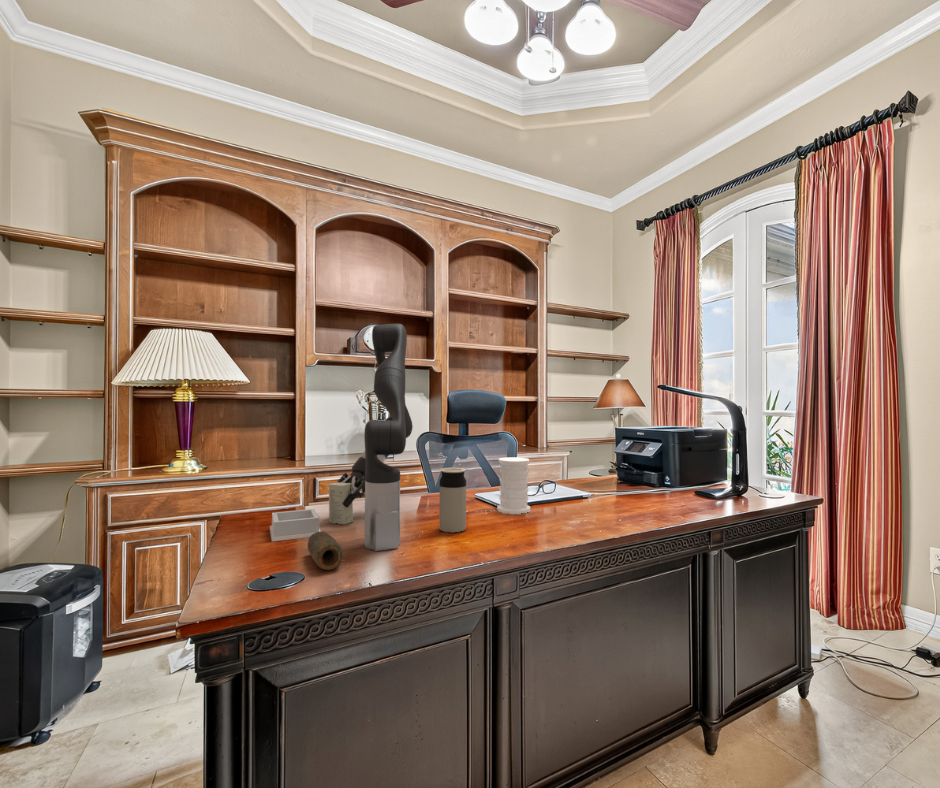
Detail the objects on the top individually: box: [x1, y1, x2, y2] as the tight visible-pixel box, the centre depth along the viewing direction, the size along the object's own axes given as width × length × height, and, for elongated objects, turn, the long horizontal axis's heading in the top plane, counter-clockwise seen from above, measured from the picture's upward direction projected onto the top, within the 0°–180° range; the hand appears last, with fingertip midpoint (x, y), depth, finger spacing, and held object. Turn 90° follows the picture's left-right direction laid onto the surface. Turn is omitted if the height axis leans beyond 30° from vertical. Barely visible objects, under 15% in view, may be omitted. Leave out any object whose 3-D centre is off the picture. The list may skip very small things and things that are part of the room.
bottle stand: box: [269, 508, 322, 542], centre depth 135 cm, size 13×13×5 cm
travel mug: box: [438, 467, 467, 534], centre depth 139 cm, size 8×8×18 cm
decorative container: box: [496, 456, 531, 515], centre depth 163 cm, size 12×12×18 cm
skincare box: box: [328, 481, 354, 525], centre depth 146 cm, size 6×4×12 cm
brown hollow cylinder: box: [307, 530, 344, 571], centre depth 111 cm, size 15×7×7 cm, turn 31°
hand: (337, 503), depth 145 cm, fingers open, 8 cm apart
